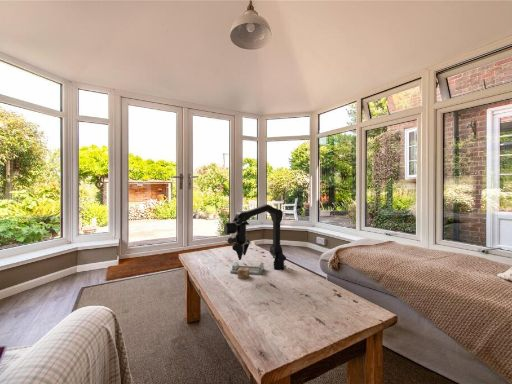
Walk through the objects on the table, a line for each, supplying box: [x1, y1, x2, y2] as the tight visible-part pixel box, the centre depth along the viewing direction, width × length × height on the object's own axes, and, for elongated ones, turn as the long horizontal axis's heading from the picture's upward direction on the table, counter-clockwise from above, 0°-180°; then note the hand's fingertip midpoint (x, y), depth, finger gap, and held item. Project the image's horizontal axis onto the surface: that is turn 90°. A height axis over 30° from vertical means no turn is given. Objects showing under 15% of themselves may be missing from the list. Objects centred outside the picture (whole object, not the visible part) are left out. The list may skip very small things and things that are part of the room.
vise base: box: [230, 262, 265, 275], centre depth 157 cm, size 20×10×4 cm, turn 78°
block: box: [237, 268, 250, 280], centre depth 147 cm, size 6×4×5 cm
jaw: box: [231, 261, 240, 270], centre depth 159 cm, size 2×8×3 cm, turn 168°
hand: (242, 257), depth 149 cm, fingers open, 9 cm apart
